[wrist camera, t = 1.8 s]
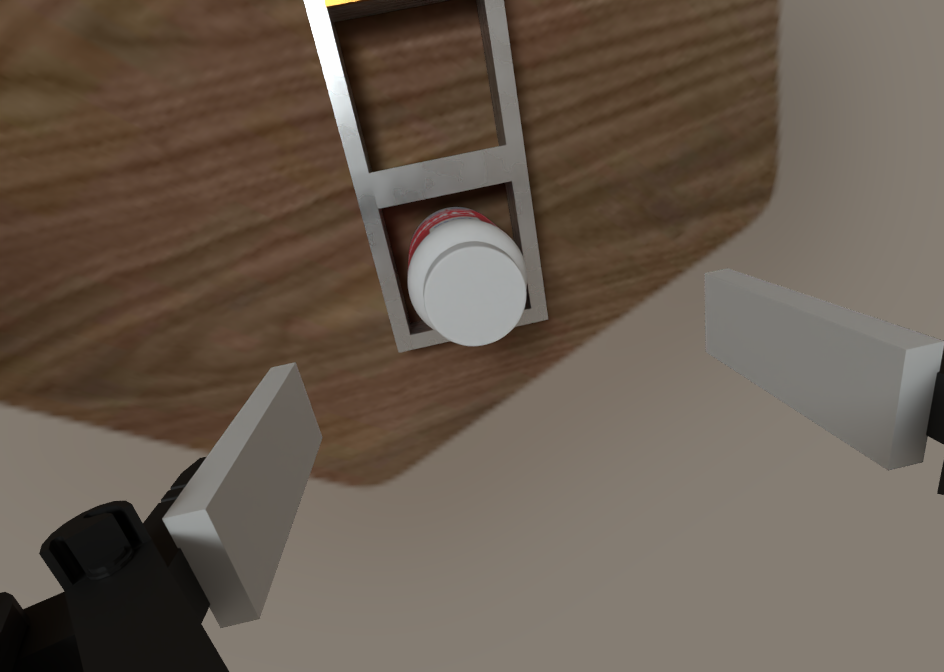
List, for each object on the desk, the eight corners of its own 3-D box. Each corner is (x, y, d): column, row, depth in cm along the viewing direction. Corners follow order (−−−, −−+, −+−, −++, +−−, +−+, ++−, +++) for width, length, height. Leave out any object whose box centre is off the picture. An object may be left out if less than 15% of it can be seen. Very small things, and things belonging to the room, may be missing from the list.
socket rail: (399, 339, 33) (398, 354, 30) (244, -244, 22) (222, -299, 20) (538, 308, 33) (549, 320, 31) (453, -278, 23) (458, -336, 20)
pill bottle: (466, 186, 30) (494, 198, 20) (518, 263, 32) (568, 310, 22) (389, 244, 31) (377, 285, 20) (445, 315, 33) (459, 386, 23)
